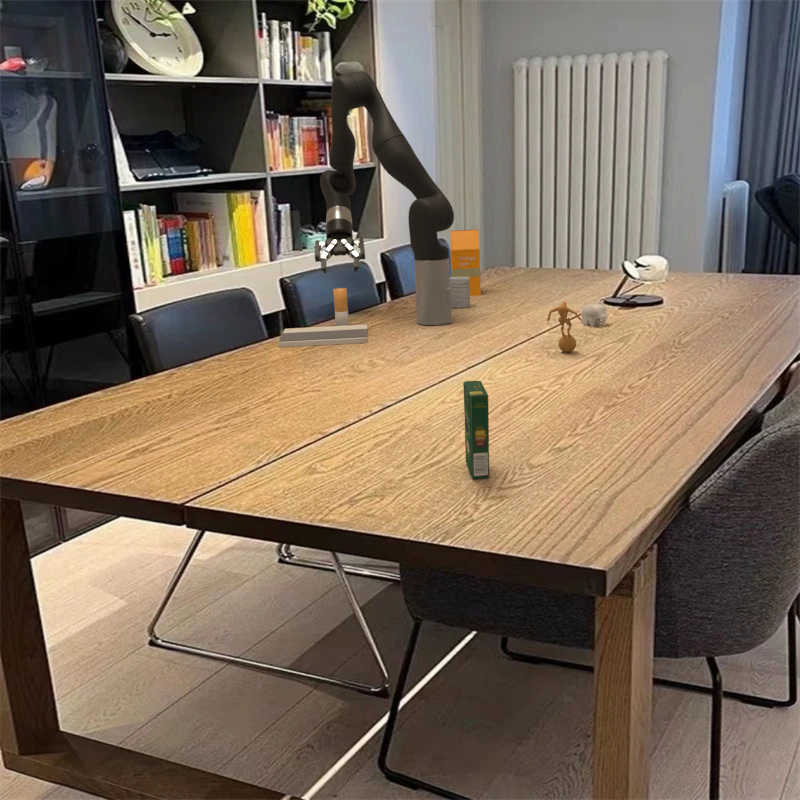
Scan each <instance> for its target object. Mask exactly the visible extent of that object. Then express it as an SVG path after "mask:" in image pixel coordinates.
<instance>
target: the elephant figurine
mask: <svg viewBox="0 0 800 800" xmlns="http://www.w3.org/2000/svg"><path fill="white" fill-rule="evenodd" d="M580 310H581V315H580V317H581V319H582V322H583V325H584V326H588V325H589V326H591V327H595V326H599V325H600V324H604V323H606V322H607V320H608V319H609V318H608V315H607V308H606V304H605V303H604V302H603V301H598V302H597V303H596V304H595V303H594V304H591V303H586V304H585V306H583V308H582V309H580Z"/></svg>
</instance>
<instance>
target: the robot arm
mask: <svg viewBox="0 0 800 800" xmlns="http://www.w3.org/2000/svg"><path fill="white" fill-rule="evenodd" d="M330 98H331V99H330V103H331V105H330V106H331V109H330V110H331V130H332V131H331V133H332V138H331V145H330V146H331V147H330V154H329V160H328V161H329V165H330V167H331V169H328V170H327V169H326V170H324V171H323V172H322V173H321V175H320V178H319V185H320V189H321V192H322V195H323V197H324V200H325V202H326V219H325V229H326V230H325V231H326V232H325V233H326V238H325V241H320V240H319V239H316V240H315V241H314V253H313V254H314V261H315V263H316V262H317V263H319V262H320V269H321V272H323V274H327V270H328V269H327V261H328V260H330V259H332V257H334V256H335V257H339V256H343V257H344V256H346V255H347V256H348V257H350V259H353V270H354V271H353V272H354V273H356V272H358V270H360V260H365V259H366V249H365V244H364V243H365V242H364V238H363V237H359V239H358V240H354V238H353V236H354V235H353V218H352V210H351V209H352V208H351V206H352V205H351V199H350V197H349V196H351V195H352V194H353V193H354V192H355V190H356V188H357V184H356V182H357V181H356V176H355V172H354V162H355V161H354V159H355V156H356V149H357V148H356V146H357V145H356V139H355V136H354V133H353V132H352V129H351V128H350V126H349V124H348V115H349V112H350V111H351V110H355V109H358V108H365V109H366V111H367V112H368V114H369V117H370V118H371V121H372V135H371V137H372V139H371V144H372V145H371V147H372V150H373V153H374V155H375V157H376V158H377V160H378V161H379V163H380V165H381V167H382V168H383V169H384V170H385V172H386V173H387V174H388V175H389V176H391V178H393V179H394V180H396V181H397V182H398V183H399V184H401V185H402V186H403V187H405V188H406V189H407V190H409V191H410V192H411V193H412V195H413V196H414V197H415V200H414V201H412V203H411V205H410V206H409V210H408V215H407V217H408V219H407V220H408V229H409V239H410V247H411V250H412V252H413V256H414V257H413V259H414V261H413V262H414V279H415V285H414V286H415V301H416V304H415V305H416V307H415V308H416V323H417V324H419V325H423V326H440V325H446V324H452V323H453V321H452V320H453V319H452V317H453V316H452V308H451V288H450V277H451V275H450V251H449V248H448V246H446V245H443V244H441V242H440V241H439V238H438V233H439V232H443V231H446V230H448V229H450V228H451V227H452V226H453V223H454V219H455V213H454V209H453V206H452V204H451V202H450V201H449V199H448V198H447V196H445V194H444V192H443V191H442V190H441V188H439V187H438V185H437V184H436V182H434V180H433V179H432V177H431V175H429V173H428V172H427V170H426V169H425V167H424V165H423V164H422V162H421V160H420V159H419V157H417V155H416V152H415V151H414V149H413V147H412V146H411V144H410V142H409V141H408V139H407V138H406V137H405V135H404V133H403V132H402V130H401V128H400V127H399V125H398V124H397V122H396V121H395V119H394V117H393V116H392V114H391V113H390V111H389V109H388V106H387V104H386V103H385V101H384V98H383V97H382V95H381V92H380V90H379V88H378V86H377V85H376V82H375V81H374V79H373V78H372V76H371V75H370V74H369V73H368V72H367V71H365V70H363V71H362V70H358V71H355V72H351V73H346V74H342V75H338V76H336V77H335V78H334V79H333V82H332V83H331V90H330ZM332 169H333V170H332ZM355 246H356V247H357V248H358V249H359V251H360V253H359V252H358V251H356V250H355V248H354V247H355ZM323 248H325V250H324V249H323ZM322 250H324V252H323V253H322V254H321V251H322Z"/></svg>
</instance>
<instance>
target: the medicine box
mask: <svg viewBox="0 0 800 800" xmlns="http://www.w3.org/2000/svg"><path fill="white" fill-rule="evenodd" d="M450 288H451V309H467V308H468V309H470V307H471V296H470V284H469V277H452V276H450Z"/></svg>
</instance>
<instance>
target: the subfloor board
mask: <svg viewBox="0 0 800 800" xmlns="http://www.w3.org/2000/svg"><path fill="white" fill-rule="evenodd" d="M368 329H369V328H368V324H349V325H347V326H336V325H335V326H334V325H332V326H314V327H312V326H311V327H310V326H309V327H293V328H292V327H291V328H284V330H283V332H282V334H281V335H280V338H279V340H278V347H279V348H293V347H296V348H297V347H309V346H310V347H312V346H328V345H329V346H331V345H351V344H367V343H368V339H369V338H368V334H369V330H368Z"/></svg>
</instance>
